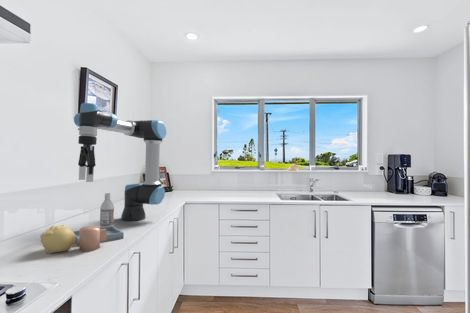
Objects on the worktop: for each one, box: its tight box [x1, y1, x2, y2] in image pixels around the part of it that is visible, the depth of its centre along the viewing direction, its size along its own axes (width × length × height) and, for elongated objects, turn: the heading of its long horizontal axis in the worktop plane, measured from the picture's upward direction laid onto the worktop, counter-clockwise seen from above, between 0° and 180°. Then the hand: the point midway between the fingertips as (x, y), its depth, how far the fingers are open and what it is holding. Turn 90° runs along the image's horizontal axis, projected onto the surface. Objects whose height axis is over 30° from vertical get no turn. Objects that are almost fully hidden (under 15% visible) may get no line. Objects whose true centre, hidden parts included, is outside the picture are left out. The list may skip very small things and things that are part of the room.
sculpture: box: [40, 224, 75, 254], centre depth 118 cm, size 12×12×11 cm
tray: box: [72, 225, 125, 247], centre depth 136 cm, size 20×16×3 cm
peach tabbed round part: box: [78, 225, 107, 252], centre depth 122 cm, size 8×11×9 cm
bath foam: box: [99, 192, 115, 228], centre depth 154 cm, size 7×7×20 cm
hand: (85, 180), depth 129 cm, fingers open, 13 cm apart
